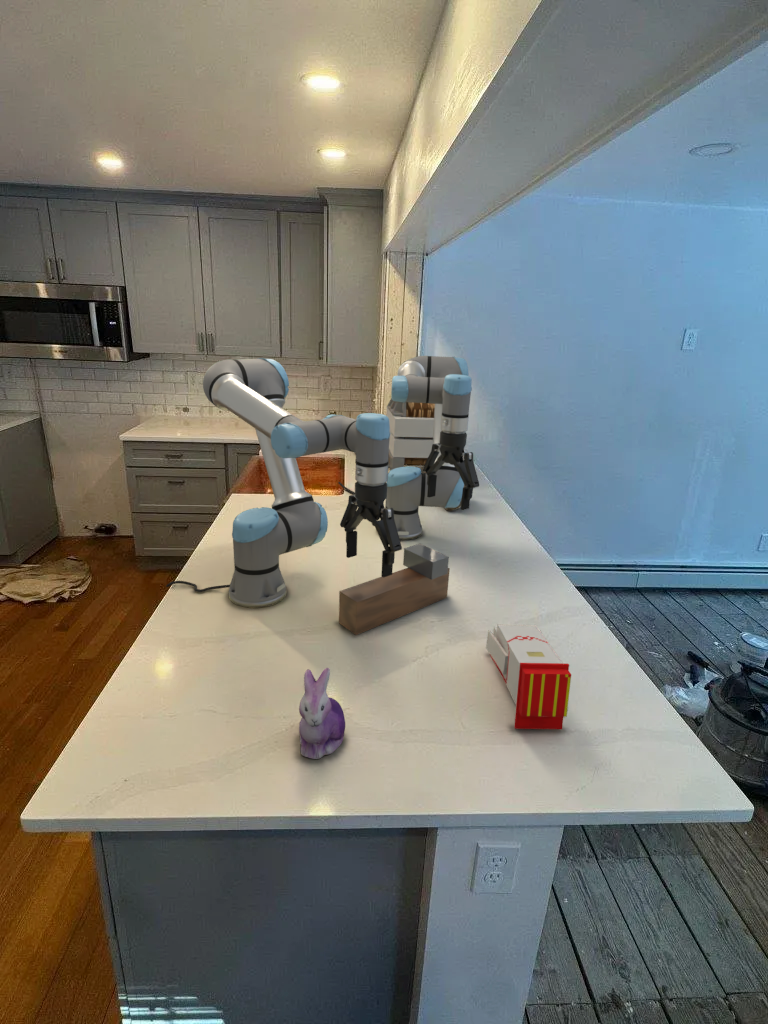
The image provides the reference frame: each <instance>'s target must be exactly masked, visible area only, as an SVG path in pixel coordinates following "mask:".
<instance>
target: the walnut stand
mask: <svg viewBox="0 0 768 1024" xmlns="http://www.w3.org/2000/svg"><path fill="white" fill-rule="evenodd" d="M449 580H450V568H449V567H448V573H447V574H446V575H443V576H440V577H437V578H435V579H432V580H431V579H429V578H427V577H425V576H424V575H422V574H420V573H418V572H416V571H414V570H412V569H410V568H408V567H406V568H403V569H400V570H396V571H394V572H392V575H390V576H387V577H384V578H383V577H382V576H379V577H376V578H374V579H370V580H368V581H365V582H362V583H359V584H357V585H353V586H350V587H347V588H345V589H341V590H339V592H338V593H339V594H338V595H339V597H338V598H339V599H338V624H339V625H341V626H342V627H343V628H345V629H347V630H348V631H349V632H351V633H352V634H353V635H355V636H357V635H361V634H363V633H365V632H367V631H369V630H372V629H375V628H377V627H379V626H382V625H384V624H387V623H389V622H391V621H395V620H396V619H399V618H401V617H404V616H406V615H409V614H411V613H413V612H415V611H418V610H421V609H424V608H426V607H428V606H430V605H433V604H435V603H438V602H441V601H442V600H446V599H447V598H448V591H449Z"/></svg>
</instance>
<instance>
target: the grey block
mask: <svg viewBox="0 0 768 1024" xmlns="http://www.w3.org/2000/svg"><path fill="white" fill-rule="evenodd" d="M449 560H450V556H448V555H446V554H444V553H442V552H440V551H439V550H438V551H437V550H435V549H433V548H431V547H429V546H427V545H425V544H423V543H417V544H413V545H410V546H407V547H404V548H403V561H402V565H403V566H404V567H406V568H410V569H412V570H414V571H416V572H418V573H420V574H422V575H424V576H425V577H427V578H429V579H431V580H432V579H435V578H437V577H440V576H443V575H446V574H447V573H448V568H449Z"/></svg>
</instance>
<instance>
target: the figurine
mask: <svg viewBox="0 0 768 1024" xmlns="http://www.w3.org/2000/svg"><path fill="white" fill-rule="evenodd" d="M330 676H331V669H330V668H329V667H326V668H324V669H323V670H322V671H321V673H320V675H319V677H318V678H317V680H316V678H315V676H314V674H313V672H312V670H311V669H309V668H307V669H306V670H305V671H304V674H303V686H304V693H303V695H302V697H301V700H300V702H299V706H298V707H299V708H298V711H299V715H300V717H301V719H300V721H299V723H298V724H299V725H298V733H299V745H300V754H301V755H302V756H303V757H305V758H308V759H313V760H319V759H321V758H322V757H324V756H328V755H331V754H333V753H334V752H336V750H337V749H338V748H339V747H340V746H341V745H342V743H343V741H344V737H345V731H346V719H345V713H344V710H343V707H342V705H341V704H340V703H339V701H338V700H336V698H334V697H330V696H329V695H328V693H327V688H328V684H329V680H330Z"/></svg>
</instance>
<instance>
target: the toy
mask: <svg viewBox="0 0 768 1024" xmlns="http://www.w3.org/2000/svg"><path fill="white" fill-rule="evenodd" d="M486 636H487V637H486V638H487V639H486V644H485V645H486V646H485V649H486V650H487V652H488V653H489V656H490V658H491V660H492V661H493V663H494V665H495V667H496V669H497V670H498V672H499V674H500V676H501V678H502V679H503V681H504V683H505V684H506V687H507V689H508V691H509V694H510V696H511V698H512V700H513V702H514V704H515V715H514V730H563V723H564V717H565V718H566V717H567V716H568V709H569V699H570V692H571V691H570V690H571V682H572V681H571V680H572V673H571V671H569V670H570V669H569V668H570V664H569V663H564V662H563V661H562V659H561V658H560V657H559V655H558V654H557V652H556V651H555V650H554V648H553V647H552V646H551V644H550V643H549V641H548V640H547V638H546V637H545V636H544V634H543V633H542V631H541V630H540V629H539V628H538V626H537V625H536V624H498V623H497V625H496V626H493V631H492V630H488V631H487V635H486Z"/></svg>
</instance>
